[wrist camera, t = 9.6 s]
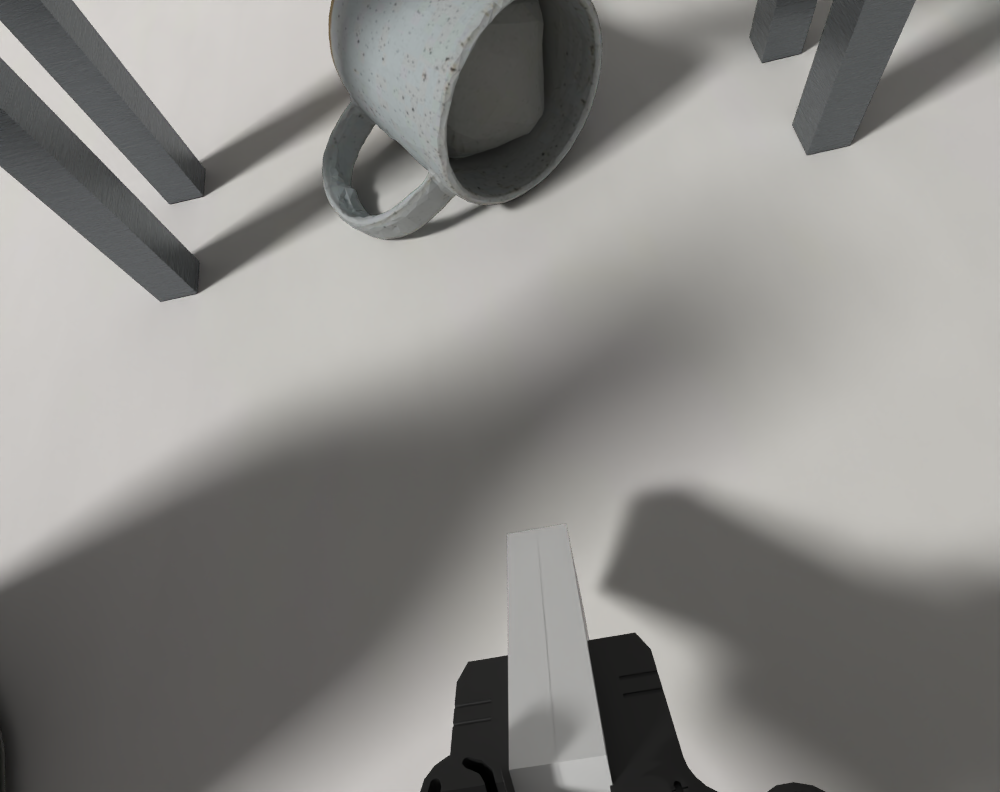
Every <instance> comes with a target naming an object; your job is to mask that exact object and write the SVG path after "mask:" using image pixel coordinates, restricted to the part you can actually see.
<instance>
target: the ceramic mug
mask: <svg viewBox="0 0 1000 792" xmlns="http://www.w3.org/2000/svg"><path fill="white" fill-rule="evenodd" d="M329 41H330V49H331V55H332V58H333V62H334V65H335V68H336V70H337V73H338V75H339V77H340V79H341V81H342V82H343V84H344V86H345V87H346V89H347V91H348V92H349V94H350V98H351V102H350V104H349V105H348V107H347V108H346V109H345V111H344V112H343V114H342V115H341V117H340V119H339V120H338V122H337V124H336V126H335V128H334V129H333V131H332V133H331V135H330V138H329V141H328V144H327V147H326V149H325V152H324V156H323V167H322V177H323V187H324V190H325V193H326V196H327V198H328V201H329V203H330V205H331V206H332V208H333V209H334V210H335V211H336V213H337V214H338V215H339V216H340V218H341V219H342V220H343V221H345V222H346V223H347V224H349V225H350V226H352V227H353V228H355V229H358V230H360V231H362V232H364V233H366V234H368V235H370V236H372V237H376V238H379V239H393V238H399V237H404V236H406V235H408V234H411V233H414V232H415V231H417V230H418V229H420V228H421V227H423V226H424V225H425V224H426V223H427V222H429V221H430V220H431V219H432V218H433V217H434V216H435V215H436V214H437V213H439V212H440V211H441V210H442V209H443V208H444V207H445V206H446V205H447V203H448V202H449V201H450V200H451V199H452V198H453V197H454V196H455V195H457V196H459V197H461V198H462V199H464V200H466V201H468V202H471V203H475V204H480V205H495V204H499V203H505V202H508V201H510V200H512V199H514V198H517V197H519V196H521V195H523V194H524V193H526V192H528V191H529V190H530V189H532V188H533V187H535V186H536V185H538V184H539V183H540V182H541V181H542V180H543V179H545V178H546V177H547V176H548V175H549V174H550V173H551V172H552V171H553V170H554V169H555V168H556V167H557V165H558V164H559V163H560V162H561V160H562V159H563V158H564V157H565V155H566V154H567V153H568V152H569V150H570V149H571V147H572V146H573V144H574V142H575V140H576V138H577V137H578V135H579V133H580V131H581V130H582V128H583V126H584V124H585V122H586V120H587V117H588V115H589V113H590V110H591V107H592V104H593V101H594V97H595V94H596V90H597V86H598V82H599V76H600V69H601V60H602V38H601V28H600V24H599V19H598V15H597V12H596V9H595V7H594V5H593V3H592V2H591V0H332V1H331V7H330V13H329ZM376 124H377V125H378V126H379V127H380V128H381V129H382V130H383V131H385V132H386V133H387V135H388V136H389V137H390V138H391V139H394V140H396V141H397V142H398V143H400V144H401V145H402V146H403V147H404V148H405V149H406V150H407V151H408V152H409V153H410V154H411V155H412V156H413V157H414V158H415V159H416V160H417V161H418V162H419V163H420V164H421V165H422V166H423V167H425V168H426V169H427V170H428V171H429V172H428V175H427V177H426V179H425V180H424V182H423V183H422V184H421V185H420V186H419V187H418V188H417V189H416V190H414V191H413V192H412V193H411V194H409V195H408V196H407V197H406V198H405V199H404V200H403V201H402V202H400V203H399V204H398V205H396V206H395V207H393V208H392V209H391V210H389V211H387V212H385V213H382V214H379V215H376V216H375V215H372V216H370V215H369V214H368V213H367V212H366V211H365V209H364V208H363V206H362V205H361V203H360V201H359V200H358V196H357V191H356V190H355V189H353V188H352V187H351V178H352V171H353V167H354V164H355V161H356V159H357V157H358V153H359V151H360V149H361V147H362V145H363V144H364V142H365V140H366V138H367V137H368V135H369V134H370V132H371V130H372V129H373V127H374V126H375V125H376Z"/></svg>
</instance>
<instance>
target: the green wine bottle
mask: <svg viewBox="0 0 1000 792" xmlns="http://www.w3.org/2000/svg"><path fill="white" fill-rule="evenodd" d="M4 791H5V750H4V745H3V740H2V735H1V730H0V792H4Z"/></svg>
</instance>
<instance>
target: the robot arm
mask: <svg viewBox="0 0 1000 792" xmlns="http://www.w3.org/2000/svg"><path fill="white" fill-rule="evenodd" d="M507 594H508V655H507V656H501V657H495V658H489V659H483V660H477V661H471V662H468V663H467V665H466V667H465V669H464V670H463V672H462V674H461V676H460V678H459V679H458V681H457V686H456V697H455V709H454V719H453V724H454V727H453V730H452V741H451V752H450V756H448V757H446V758H445V759H443V760H442V761H441V762H439V763H438V764H436V765H435V766H434V767H433V769H432V770H431V771H430V773H429V774H428V775H427V777H426V778H425V779H424V782H423V785H422V788H421V791H420V792H717V791H715V790H713V789H711V788H709V787H707V786H706V785H705V784H703V783H702V782H701V781H700V780H699V779H697V778H696V777H695V776H694V774H693V773H692V772H691V770H690V769H689V768H688V766H687V764H686V762H685V760H684V757H683V755H682V751H681V748H680V745H679V741H678V738H677V735H676V731H675V728H674V725H673V721H672V718H671V715H670V711H669V708H668V705H667V702H666V698H665V695H664V692H663V689H662V685H661V682H660V678H659V675H658V672H657V668H656V665H655V662H654V658H653V655H652V652H651V649H650V648H649V647H648V646H647V645H646V644H645V643H644V642H643V641H642V639H641V638H640V637H639V636H638V635H637V634H636V633H630V634H624V635H618V636H612V637H606V638H600V639H594V640H589V636H588V630H587V625H586V619H585V614H584V608H583V604H582V599H581V594H580V589H579V584H578V579H577V574H576V569H575V564H574V559H573V554H572V550H571V545H570V540H569V535H568V530H567V525H566V523H565V524H559V525H554V526H548V527H543V528H537V529H532V530H526V531H521V532H515V533H510V534H507ZM768 792H825V791H823V790H821V789H819V788H817V787H815V786H813V785H807V784H800V783H794V782H793V783H787V784H782V785H777V786H775V787H774V788H772V789H771V790H769V791H768Z"/></svg>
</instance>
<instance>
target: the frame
mask: <svg viewBox="0 0 1000 792" xmlns="http://www.w3.org/2000/svg"><path fill="white" fill-rule="evenodd" d="M915 1H916V0H833V3H832V6H831V9H830V12H829V15H828V18H827V21H826V24H825V27H824V30H823V33H822V36H821V39H820V42H819V45H818V48H817V51H816V54H815V57H814V60H813V63H812V66H811V69H810V72H809V75H808V78H807V81H806V84H805V87H804V90H803V94H802V97H801V100H800V103H799V106H798V109H797V112H796V115H795V118H794V121H793V124H792V126H793V128H794V130H795V132H796V134H797V136H798V138H799V140H800V142H801V144H802V146H803V148H804V150H805V152H806V154H807V155H809V154H814V153H818V152H823V151H827V150H831V149H836V148H840V147H845V146H849V145H850V144H851V142H852V140H853V138H854V136H855V133H856V131H857V129H858V127H859V125H860V122H861V120H862V118H863V116H864V113H865V111H866V109H867V107H868V105H869V102H870V100H871V98H872V96H873V94H874V91H875V89H876V87H877V85H878V83H879V80H880V78H881V76H882V74H883V71H884V69H885V67H886V65H887V63H888V60H889V58H890V56H891V54H892V52H893V49H894V47H895V45H896V43H897V40H898V38H899V36H900V34H901V32H902V29H903V27H904V25H905V23H906V21H907V18H908V16H909V14H910V12H911V10H912V7H913V5H914V3H915ZM816 4H817V0H758V1H757V5H756V10H755V14H754V19H753V23H752V28H751V32H750V37H749V38H750V40H751V42H752V44H753V46H754V48H755V50H756V52H757V54H758V56H759V58H760V60H761V62H762V63H763V62H767V61H771V60H775V59H780V58H784V57H788V56H792V55H796V54H801V52H802V49H803V46H804V42H805V39H806V36H807V33H808V30H809V26H810V23H811V20H812V17H813V13H814V10H815V7H816ZM0 21H1V22H2V23H3V24H4V25H5V26H6V27H7V28H8V29H9V30H10V31H11V33H12V34H13V35H14V36H15V37H16V38H17V39H18V40H19V41H20V42H21V43H22V44H23V46H24V47H25V48H26V49H27V50H28V51H29V52H30V53H31V54H32V55H33V56H34V58H35V59H36V60H37V61H38V62H39V63H40V64H41V65H42V66H43V67H44V68H45V69H46V71H47V72H48V73H49V74H50V75H51V76H52V77H53V78H54V79H55V80H56V81H57V83H58V84H59V85H60V86H61V87H62V88H63V89H64V90H65V91H66V92H67V93H68V95H69V96H70V97H71V98H72V99H73V100H74V101H75V102H76V103H77V104H78V105H79V106H80V108H81V109H82V110H83V111H84V112H85V113H86V114H87V115H88V116H89V117H90V118H91V120H92V121H93V122H94V123H95V124H96V125H97V126H98V127H99V128H100V129H101V130H102V131H103V133H104V134H105V135H106V136H107V137H108V138H109V139H110V140H111V141H112V142H113V143H114V145H115V146H116V147H117V148H118V149H119V150H120V151H121V152H122V153H123V154H124V155H125V156H126V158H127V159H128V160H129V161H130V162H131V163H132V164H133V165H134V166H135V167H136V168H137V170H138V171H139V172H140V173H141V174H142V175H143V176H144V177H145V178H146V179H147V180H148V181H149V183H150V184H151V185H152V186H153V187H154V188H155V189H156V190H157V191H158V192H159V193H160V195H161V196H162V197H163V198H164V199H165V200H166V201H167V202H168V203H169V204H172V203H177V202H181V201H185V200H189V199H193V198H198V197H202V196H203V195H204V180H205V168H204V167H203V166H202V165H201V163H200V162H199V161H198V159H197V158H196V157H195V156H194V154H193V153H192V152H191V151H190V149H189V148H188V147H187V145H186V144H185V143H184V142H183V140H182V139H181V138H180V137H179V135H178V134H177V133H176V132H175V130H174V129H173V128H172V126H171V125H170V124H169V123H168V121H167V120H166V119H165V118H164V116H163V115H162V114H161V112H160V111H159V110H158V109H157V107H156V106H155V105H154V104H153V102H152V101H151V100H150V98H149V97H148V96H147V95H146V93H145V92H144V91H143V90H142V88H141V87H140V86H139V84H138V83H137V82H136V81H135V79H134V78H133V77H132V76H131V74H130V73H129V72H128V71H127V69H126V68H125V67H124V65H123V64H122V63H121V62H120V60H119V59H118V58H117V57H116V55H115V54H114V53H113V51H112V50H111V49H110V48H109V46H108V45H107V44H106V43H105V41H104V40H103V39H102V37H101V36H100V35H99V34H98V32H97V31H96V30H95V29H94V27H93V26H92V25H91V23H90V22H89V21H88V20H87V18H86V17H85V16H84V15H83V13H82V12H81V11H80V10H79V8H78V7H77V6H76V4H75V3H74V2H73V1H72V0H0ZM0 166H1V167H2V168H3V169H4V170H6V171H7V172H8V173H9V174H10V175H11V176H13V177H14V178H15V179H16V180H17V181H19V182H20V183H21V184H22V185H23V186H24V187H26V188H27V189H28V190H29V191H30V192H32V193H33V194H34V195H35V196H36V197H37V198H39V199H40V200H41V201H42V202H43V203H44V204H46V205H47V206H48V207H49V208H50V209H52V210H53V211H54V212H55V213H56V214H57V215H59V216H60V217H61V218H62V219H63V220H65V221H66V222H67V223H68V224H69V225H70V226H72V227H73V228H74V229H75V230H76V231H78V232H79V233H80V234H81V235H82V236H83V237H85V238H86V239H87V240H88V241H89V242H91V243H92V244H93V245H94V246H95V247H96V248H98V249H99V250H100V251H101V252H102V253H103V254H105V255H106V256H107V257H108V258H109V259H111V260H112V261H113V262H114V263H115V264H116V265H118V266H119V267H120V268H121V269H122V270H124V271H125V272H126V273H127V274H128V275H129V276H131V277H132V278H133V279H134V280H135V281H137V282H138V283H139V284H140V285H141V286H142V287H144V288H145V289H146V290H147V291H148V292H149V293H151V294H152V295H153V296H154V297H155V298H157V299H158V300H159V301H160V302H161V301H165V300H170V299H174V298H178V297H183V296H187V295H192V294H196V293H197V288H198V273H199V261H198V260H197V259H196V258H195V257H194V256H193V255H192V254H191V253H190V252H189V251H188V250H187V249H186V248H185V247H184V245H183V244H182V243H181V242H180V241H179V240H178V239H177V238H176V237H175V236H174V235H173V234H172V233H171V232H170V231H169V230H168V229H167V228H166V227H165V226H164V225H163V224H162V223H161V222H160V221H159V220H158V219H157V218H156V217H155V216H154V215H153V214H152V213H151V212H150V211H149V210H148V209H147V208H146V206H145V205H144V204H143V203H142V202H141V201H140V200H139V199H138V198H137V197H136V196H135V195H134V194H133V193H132V192H131V191H130V190H129V189H128V188H127V187H126V186H125V185H124V184H123V183H122V182H121V181H120V180H119V179H118V178H117V177H116V176H115V175H114V174H113V173H112V172H111V171H110V170H109V169H108V167H107V166H106V165H105V164H104V163H103V162H102V161H101V160H100V159H99V158H98V157H97V156H96V155H95V154H94V153H93V152H92V151H91V150H90V149H89V148H88V147H87V146H86V145H85V144H84V143H83V142H82V141H81V140H80V139H79V138H78V137H77V136H76V135H75V134H74V133H73V132H72V131H71V130H70V128H69V127H68V126H67V125H66V124H65V123H64V122H63V121H62V120H61V119H60V118H59V117H58V116H57V115H56V114H55V113H54V112H53V111H52V110H51V109H50V108H49V107H48V106H47V105H46V104H45V103H44V102H43V101H42V100H41V99H40V98H39V97H38V96H37V95H36V94H35V93H34V92H33V91H32V89H31V88H30V87H29V86H28V85H27V84H26V83H25V82H24V81H23V80H22V79H21V78H20V77H19V76H18V75H17V74H16V73H15V72H14V71H13V70H12V69H11V68H10V67H9V66H8V65H7V64H6V63H5V62H4V61H3V60H2V59H1V58H0Z"/></svg>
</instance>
